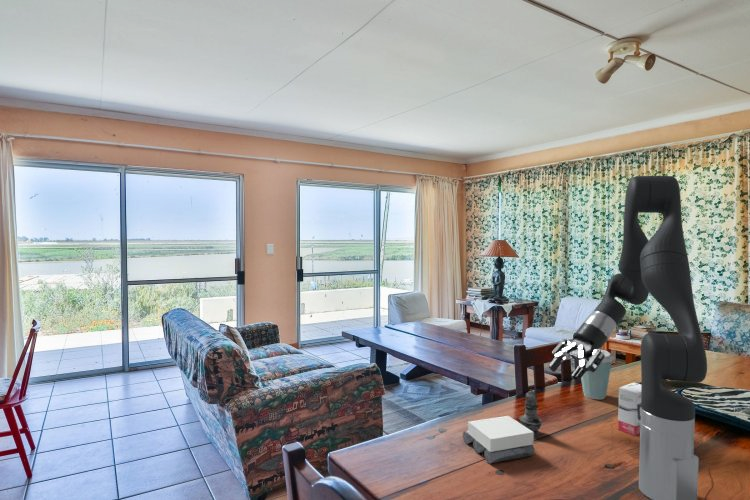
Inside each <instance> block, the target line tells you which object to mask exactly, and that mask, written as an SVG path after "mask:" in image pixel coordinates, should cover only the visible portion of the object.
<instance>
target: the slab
mask: <svg viewBox="0 0 750 500" xmlns="http://www.w3.org/2000/svg"><path fill="white" fill-rule="evenodd" d="M467 431H468V434H469V435H471V436H472V437H473V438H474V439H475V440H477V441H478V442H479V443H480V444H481V445H483V446H484V447H485V448H486V449H487V450H489V451H490V452H493V451H499V450H505V449H510V448H516V447H521V446H527V445H533V446H534V439H535V437H534V432H533V431H531V430H530V429H528V428H526V427H525V426H523V425H522V424H521V422H519V421H517V420H516V419H514V418H512V417H511V416H510V415H505V416H498V417H497V416H496V417H490V418H483V419H478V420H471V421H470V420H469V421H467Z"/></svg>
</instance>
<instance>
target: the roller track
mask: <svg viewBox="0 0 750 500" xmlns="http://www.w3.org/2000/svg"><path fill="white" fill-rule="evenodd" d="M462 439H463V443H465V444H466V445H469V444H472V447H473V450H474V452H475V453H476V454H481V453H483V455H484V460H485V461H486V462H487V464H493V463H494V464H495V463H500V462H504V461H506V462H507V461H511V460H516V459H520V458H526V457H532V456H534V455H535V453H536V452H535V447H534V444H533V445H527V446H521V447H516V448H510V449H505V450H499V451H493V452H490V451H489V450H487V449H486V448H485V447H484V446H483V445H481V444H480V443H479V442H478V441H477V440H475V439H474V438H473V437H472V436H471V435H469V434H468V430H465V431H463V432H462Z"/></svg>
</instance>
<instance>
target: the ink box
mask: <svg viewBox="0 0 750 500" xmlns="http://www.w3.org/2000/svg"><path fill="white" fill-rule="evenodd" d="M617 414H618V415H617V421H618V422H617V423H618V424H617V429H618V430H619V431H622V432H624V433H626V434H627V433H628V434H629V435H632V436H637V435H640V421H641V384H640V383H637V382H631V383H629V384H625V385H622V386H620V387H619V388H618V413H617Z"/></svg>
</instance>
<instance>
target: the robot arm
mask: <svg viewBox="0 0 750 500" xmlns="http://www.w3.org/2000/svg"><path fill="white" fill-rule="evenodd" d="M623 212H624V213H623V215H624V216H623V231H622V232H623V235H622V236H623V237H622V246H621V251H620V258H619V262H618V271H619V272H620V273H619V272H618V273H616V274H614V275H612V276H611V277H610V279H609V280H608V283H607V287H606V289H605V292H604V295H603V297H602V299H601V301H600V302H599V303H598V305H597V306H596V307H595V309H594V310H593V311H592V312H591V313H590V314H589V315H588V316H587V318H585V320H584V321H583V322H582V324H581V325H580V326H579V327H578V329H577V330H576V331H575V333H574V338H573V339H572V340H571V341H569V340H567V339H566V338H565V337H564V338H562V339H561V340H560V342H559V343H558V344H557V345H556V347H554V349H553V350H552V351H551V353H552V355H553V356H554V358H553V359H552V361H551V362H550V363H549V365H548V369H549V370H550V371H551V372H553V373H555V372H556V371H557V369H558V368H559V367H560V366H561V364H562V363H563V362H564V361H567V360H572V359H574V360H577V361H578V360H579V361H580V366H579V365H577V366H576V368H575V369H574V371H573V372H572V373H571V375H570V377H571V379H572V380H573V381H575V382H578V381H579V380H580V381H581V377H582V376H583V375H584V373H585V372H588V371H591V372H595V371H596V369H597V368H598V366H599V365H600V363H601V362H602V360H603V359H604V357H605V355H604V354H603V352H602V351H601V350H602V348H603V347H604V346H605V344H606V342H607V341H608V340H609V338H610V337H611V336H612V335H613V333H614V331H615V329H616V328H617V326H618V325H619V324H620V323H621V321H622V320H623V318H624V317H625V316H626V315H627V314H626V313H627V308H626V307H625V306H624V305H623V304H622V303H621V301H618V300H617V299H616V298H618V299H620V300H622V301H624V302H626V303H629V304H631V305H634V306H639V305H642V304H643V303H645V302H646V301H647V299H648V298H649V294H650V295H651V296H652V297H653V298H654V300H656V301H657V302H658V303H659V304H660V306H661V307H662V308H663V309H664V310H665V311H666V313H667V314H668V315H669V317H670V318H671V319H672V321H673V323H674V327H676V330H677V331H676V332H677V333H678V334H673V333H671V334H670V333H657V332H656V333H655V332H649V333H648V332H647V333H645V334H644V335H643V337H642V339H641V342H640V371H641V372H640V373H641V421H640V434H639V458H638V459H639V460H638V461H639V462H638V489H639V491H640V492H641V493H642V494H643V495H645V497H647V498H649V499H650V500H698V490H699V489H698V487H699V463H700V462H699V461H700V459H699V457H698V455H695V454H694V452H695V450H694V449H695V446H694V445H695V423H696V421H695V420H696V407H695V404H694V402H693V401H692V400H690V399H689V398H687V397H686V396H684V395H682V394H679V393H676V391H675V392H674V391H672V390H670V389H668V388H667V387H665V386H664V385H663V384H662V380H663V381H664V380H665V381H673V382H682V383H693V384H696V383H702V382H703V381H705V379H706V376H707V374H708V360H707V358H708V357H707V353H706V349H705V343H704V339H703V335H702V331H701V328H700V324H699V320H698V316H697V312H696V307H695V306H696V305H695V301H694V294H693V285H692V278H691V276H692V275H691V269H690V268H691V267H690V261H689V257H688V252H687V246H686V240H685V236H684V230H683V217H682V200H681V189H680V183H679V181H678V180H677V178H676V177H675V176H671V175H636V176H633V177H631V178H630V179H629V181H628V184H627V187H626V191H625V199H624V211H623ZM639 213H642V214H643V213H646V214H648V213H649V214H651V213H653V214H655V213H656V214H661V215H662V222H661V223H660V225H659V227H658V228H657V230H656V231H655V233H654V234H653V235H652V236H651V238H650V239H648V237H647V235H646V234H645V232H644V230H643V229H642V227H641V225H640V222H639ZM567 352H568V353H567ZM590 357H591V358H590ZM593 363H594V365H593ZM592 365H593V366H592Z"/></svg>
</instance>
